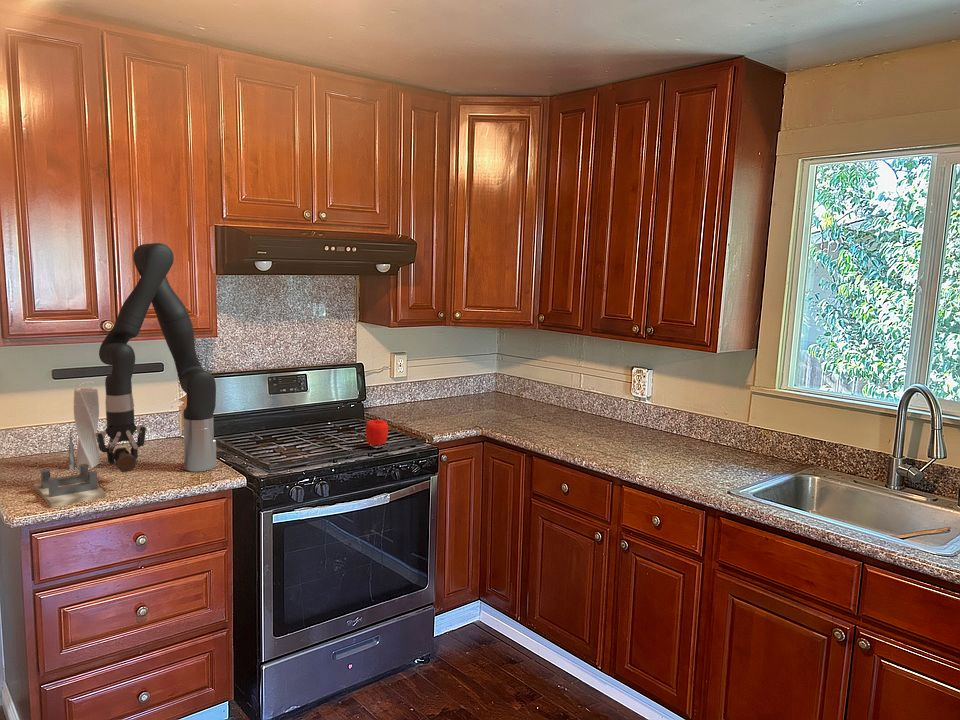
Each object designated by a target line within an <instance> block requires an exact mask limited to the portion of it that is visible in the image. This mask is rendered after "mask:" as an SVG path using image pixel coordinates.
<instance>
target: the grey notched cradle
mask: <svg viewBox="0 0 960 720" xmlns="http://www.w3.org/2000/svg"><path fill="white" fill-rule="evenodd" d="M78 471H79V472H78V474H73V475H66V476H60V477H56V476H54V477H51V470H50V469H49V468H47V469H42V470H40V480H41V481H40V483H41V487H42V488H43V489H45V488H49V496H50V497H55V496H61V495H67V494H73V493H78V492H84V491H90V490H96V489H98V486H99V485H98V472H97V471H96V470H91V471H90V470H88V465H87V464H81V465H79V470H78ZM81 482H85V483H81ZM75 483H79V484H75ZM69 484H73V485H69ZM63 485H67V486H63ZM58 486H61V487H58Z"/></svg>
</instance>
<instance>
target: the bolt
mask: <svg viewBox="0 0 960 720" xmlns="http://www.w3.org/2000/svg"><path fill="white" fill-rule="evenodd" d="M113 453H114V462H115V464H114V466H116V467H117V468H118V470H119V471H120V472H121V473H128V472H133V470H134V469H135V468H136V465H137V464H138V460H137V459H135V458H134V457H133V455H132V454H131V452H129V450H128V449H127V448H126V447H118V448H116V449H114V450H113Z"/></svg>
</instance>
